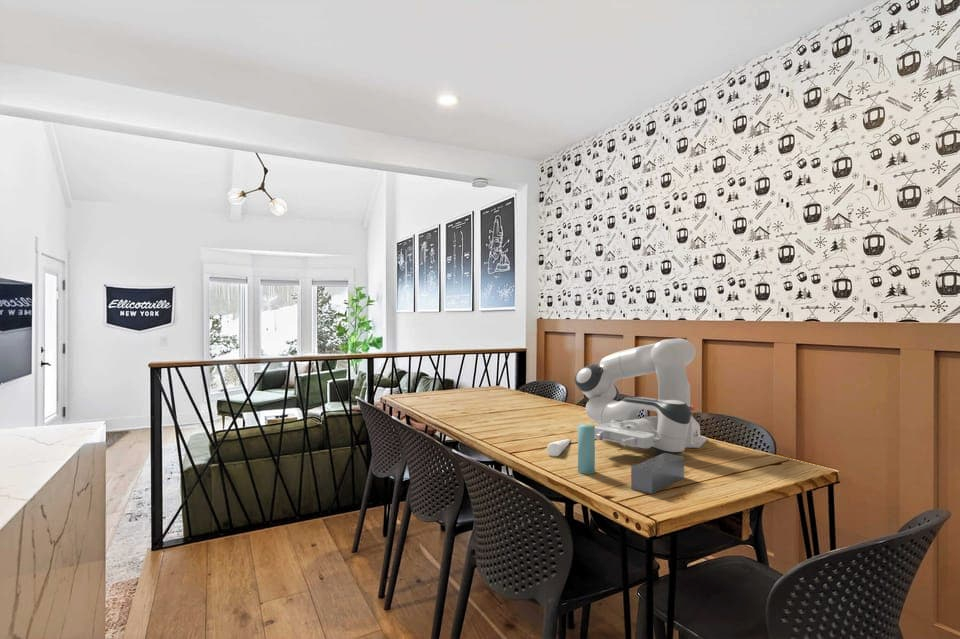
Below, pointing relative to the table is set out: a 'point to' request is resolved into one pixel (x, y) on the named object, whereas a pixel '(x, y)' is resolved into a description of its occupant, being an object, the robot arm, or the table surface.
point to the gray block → (657, 473)
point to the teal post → (586, 449)
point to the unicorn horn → (557, 447)
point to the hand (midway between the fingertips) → (609, 439)
